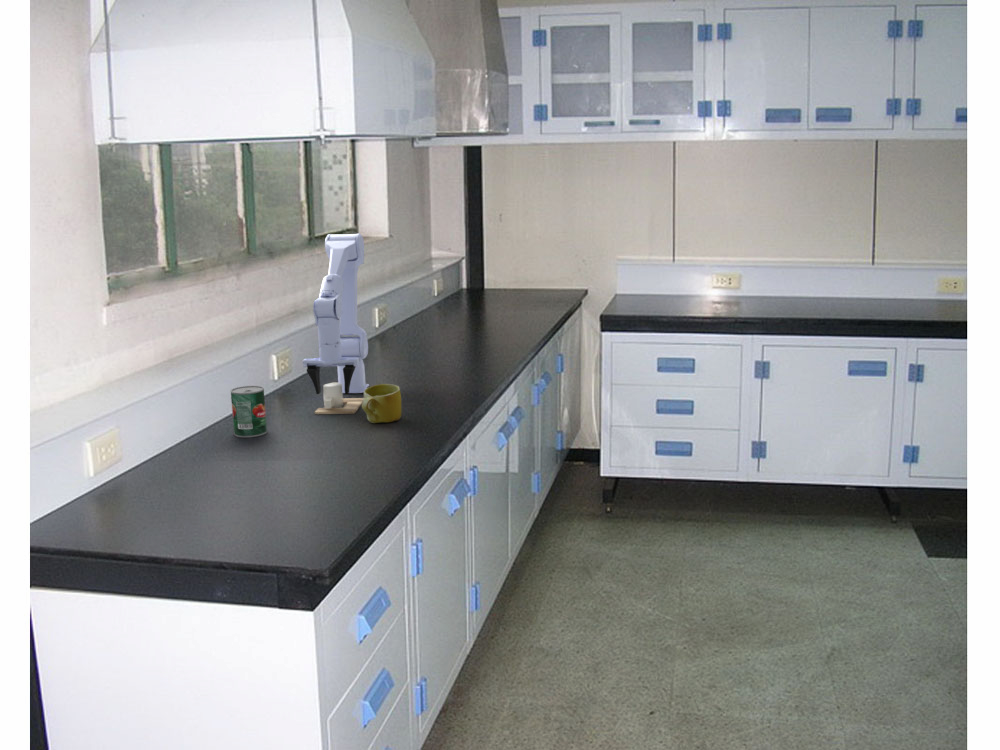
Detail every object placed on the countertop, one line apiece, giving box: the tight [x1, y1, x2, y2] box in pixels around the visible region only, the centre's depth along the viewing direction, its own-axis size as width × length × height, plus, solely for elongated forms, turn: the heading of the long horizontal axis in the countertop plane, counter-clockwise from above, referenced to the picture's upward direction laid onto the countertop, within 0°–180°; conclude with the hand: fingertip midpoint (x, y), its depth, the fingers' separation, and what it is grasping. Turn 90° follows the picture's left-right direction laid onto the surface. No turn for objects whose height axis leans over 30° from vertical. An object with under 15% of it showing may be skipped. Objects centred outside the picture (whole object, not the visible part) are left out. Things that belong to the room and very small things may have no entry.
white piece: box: [322, 382, 344, 408], centre depth 273 cm, size 10×5×6 cm, turn 176°
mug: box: [361, 383, 402, 424], centre depth 259 cm, size 12×10×10 cm
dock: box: [314, 397, 364, 415], centre depth 275 cm, size 14×10×1 cm
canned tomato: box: [230, 385, 268, 438], centre depth 250 cm, size 8×8×11 cm
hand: (332, 393), depth 274 cm, fingers open, 7 cm apart
